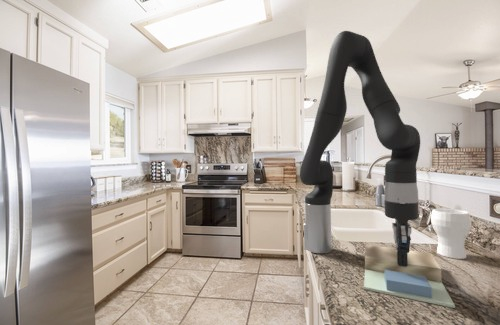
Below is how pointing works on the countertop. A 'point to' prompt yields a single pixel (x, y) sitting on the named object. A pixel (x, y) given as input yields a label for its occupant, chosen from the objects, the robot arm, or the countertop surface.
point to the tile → (408, 283)
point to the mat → (377, 284)
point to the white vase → (451, 231)
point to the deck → (417, 265)
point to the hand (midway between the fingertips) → (402, 265)
